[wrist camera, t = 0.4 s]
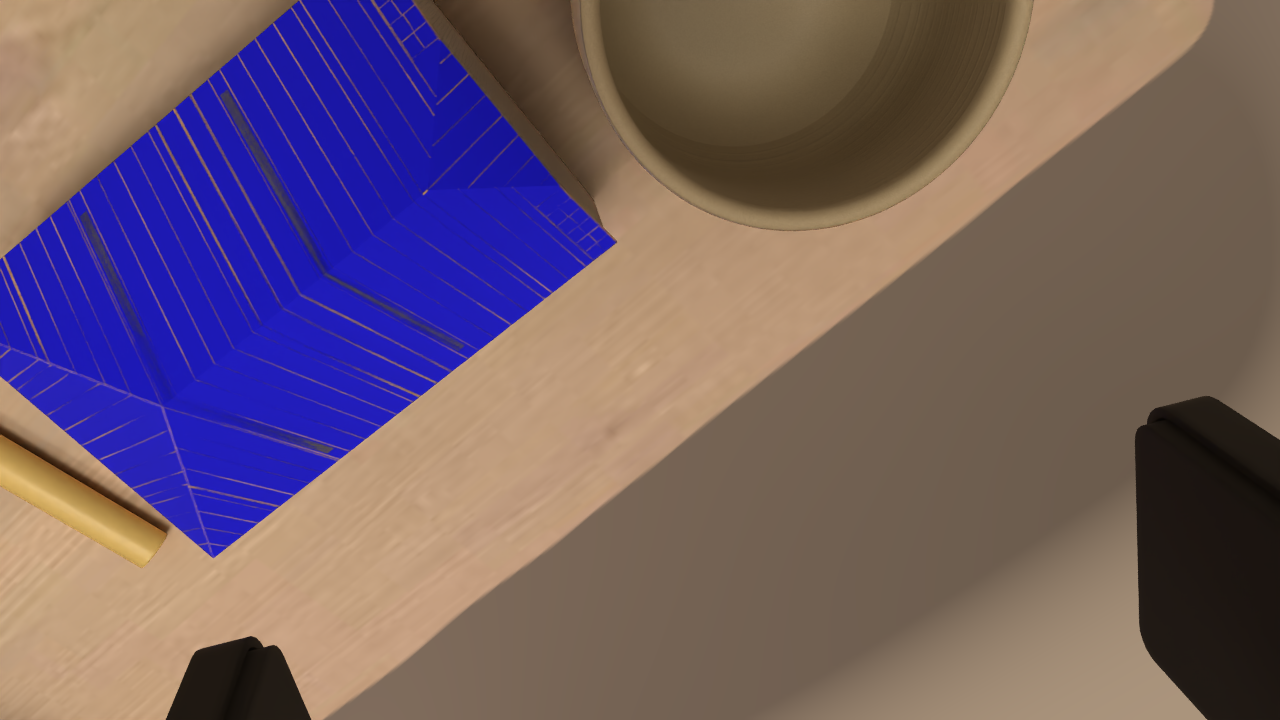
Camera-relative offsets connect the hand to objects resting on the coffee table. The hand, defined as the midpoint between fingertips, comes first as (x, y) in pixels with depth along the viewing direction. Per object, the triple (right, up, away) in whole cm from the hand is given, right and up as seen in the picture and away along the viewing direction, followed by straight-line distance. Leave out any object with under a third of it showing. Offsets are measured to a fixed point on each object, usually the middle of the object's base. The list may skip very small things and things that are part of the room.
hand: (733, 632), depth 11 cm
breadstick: (-32, -4, +46) cm, 57 cm away
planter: (+3, +21, +41) cm, 47 cm away
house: (-18, +10, +43) cm, 48 cm away
